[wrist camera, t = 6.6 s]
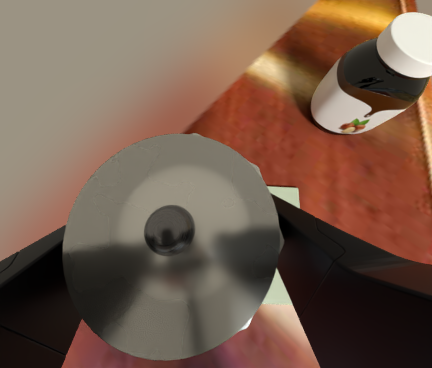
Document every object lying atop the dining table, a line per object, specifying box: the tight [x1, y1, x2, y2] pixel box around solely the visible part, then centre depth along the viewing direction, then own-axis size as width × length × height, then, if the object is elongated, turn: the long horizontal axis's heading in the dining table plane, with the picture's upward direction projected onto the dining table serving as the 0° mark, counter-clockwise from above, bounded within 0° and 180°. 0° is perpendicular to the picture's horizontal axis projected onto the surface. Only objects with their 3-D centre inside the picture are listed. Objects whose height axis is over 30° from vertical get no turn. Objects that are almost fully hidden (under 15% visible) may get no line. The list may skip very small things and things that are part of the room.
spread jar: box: [310, 12, 432, 135], centre depth 21 cm, size 12×11×12 cm
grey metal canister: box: [63, 133, 284, 361], centre depth 9 cm, size 7×7×11 cm
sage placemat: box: [262, 186, 300, 305], centre depth 21 cm, size 15×9×1 cm, turn 177°
